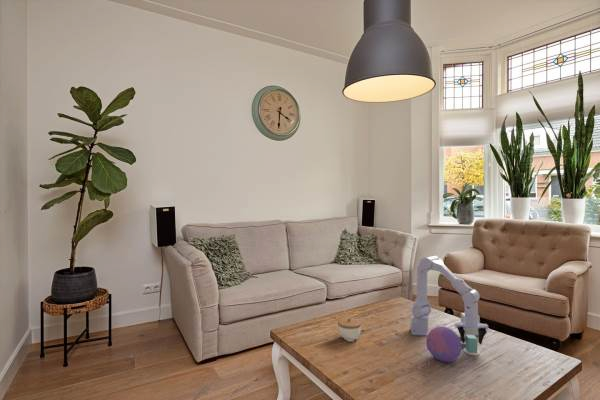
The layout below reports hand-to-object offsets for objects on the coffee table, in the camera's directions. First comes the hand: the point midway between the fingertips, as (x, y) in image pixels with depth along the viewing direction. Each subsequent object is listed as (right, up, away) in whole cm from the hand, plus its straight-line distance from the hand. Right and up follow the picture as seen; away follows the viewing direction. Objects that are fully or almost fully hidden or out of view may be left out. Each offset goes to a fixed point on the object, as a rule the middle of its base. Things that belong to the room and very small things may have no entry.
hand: (471, 342), depth 158 cm
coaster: (0, -4, 0) cm, 4 cm away
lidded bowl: (-57, -5, +17) cm, 59 cm away
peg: (0, -4, 0) cm, 4 cm away
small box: (+10, -4, +21) cm, 23 cm away
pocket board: (-4, -4, +10) cm, 12 cm away
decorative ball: (-17, -5, -7) cm, 19 cm away
